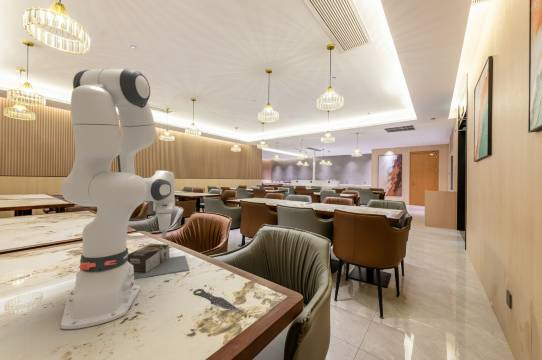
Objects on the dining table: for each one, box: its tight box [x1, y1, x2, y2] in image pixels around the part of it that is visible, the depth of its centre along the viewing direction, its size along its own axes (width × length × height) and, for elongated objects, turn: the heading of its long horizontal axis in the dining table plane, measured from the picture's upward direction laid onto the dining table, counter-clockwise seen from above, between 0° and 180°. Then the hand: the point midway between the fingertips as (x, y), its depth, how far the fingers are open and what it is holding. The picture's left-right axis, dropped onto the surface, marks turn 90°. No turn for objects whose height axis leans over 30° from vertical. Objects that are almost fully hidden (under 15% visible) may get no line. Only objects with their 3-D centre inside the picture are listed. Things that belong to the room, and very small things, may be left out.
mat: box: [134, 255, 190, 280], centre depth 94 cm, size 17×20×1 cm
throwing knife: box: [192, 288, 242, 313], centre depth 70 cm, size 4×20×1 cm, turn 57°
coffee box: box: [127, 243, 170, 273], centre depth 95 cm, size 9×6×16 cm
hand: (164, 236), depth 103 cm, fingers closed
